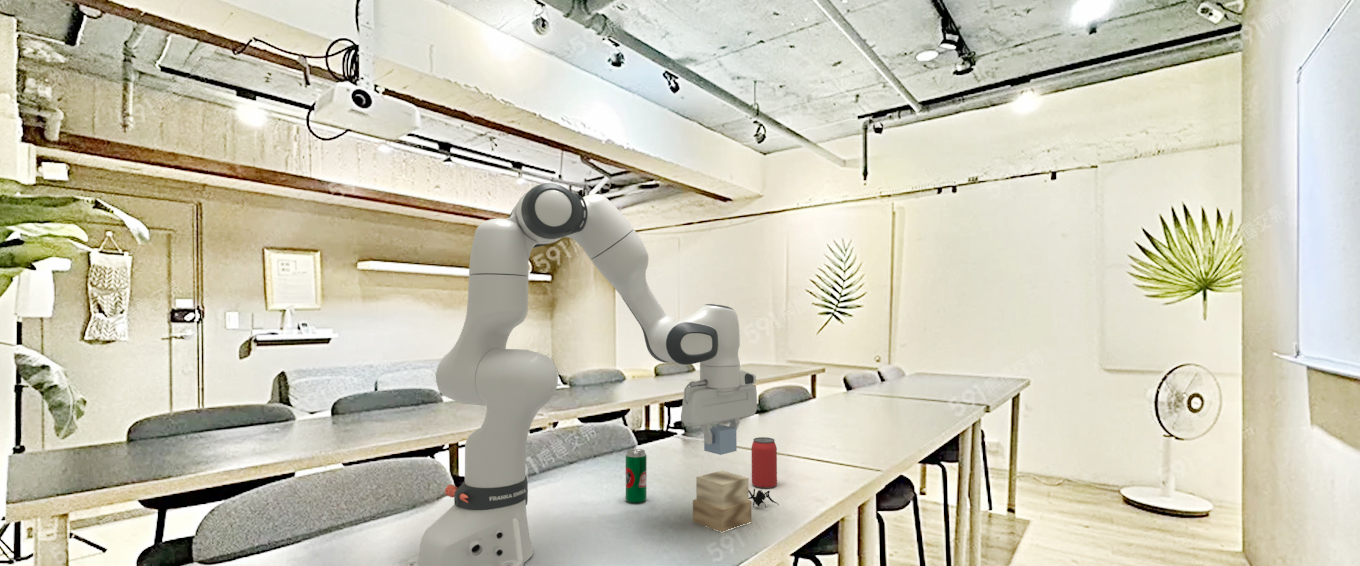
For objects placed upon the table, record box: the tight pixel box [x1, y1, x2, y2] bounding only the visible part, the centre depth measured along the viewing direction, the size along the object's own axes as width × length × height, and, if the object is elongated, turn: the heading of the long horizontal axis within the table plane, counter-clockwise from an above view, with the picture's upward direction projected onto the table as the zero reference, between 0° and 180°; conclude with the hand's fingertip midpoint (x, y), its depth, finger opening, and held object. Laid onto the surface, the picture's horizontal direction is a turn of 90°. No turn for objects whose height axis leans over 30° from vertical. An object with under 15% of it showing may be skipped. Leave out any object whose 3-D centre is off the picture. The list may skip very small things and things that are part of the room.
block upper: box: [695, 470, 750, 509], centre depth 134 cm, size 8×8×5 cm
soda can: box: [625, 448, 648, 504], centre depth 149 cm, size 5×5×12 cm
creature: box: [748, 484, 779, 509], centre depth 146 cm, size 8×5×8 cm
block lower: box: [692, 498, 752, 532], centre depth 134 cm, size 9×9×5 cm
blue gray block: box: [703, 424, 737, 456], centre depth 135 cm, size 5×5×5 cm
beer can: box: [751, 436, 778, 489], centre depth 162 cm, size 7×7×12 cm
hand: (720, 441), depth 135 cm, fingers closed on blue gray block, 5 cm apart
